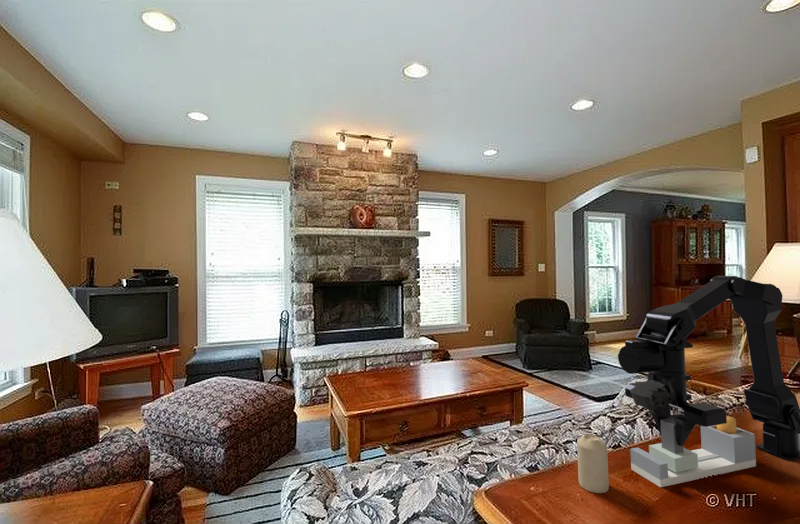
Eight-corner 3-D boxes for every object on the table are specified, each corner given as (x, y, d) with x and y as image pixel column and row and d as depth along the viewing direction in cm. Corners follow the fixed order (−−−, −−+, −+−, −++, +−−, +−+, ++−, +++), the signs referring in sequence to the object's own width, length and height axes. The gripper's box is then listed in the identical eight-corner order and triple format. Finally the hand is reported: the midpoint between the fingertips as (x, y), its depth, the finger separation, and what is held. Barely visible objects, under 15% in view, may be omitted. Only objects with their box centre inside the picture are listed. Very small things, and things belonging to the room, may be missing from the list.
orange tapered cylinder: (724, 438, 86) (723, 414, 86) (741, 444, 83) (740, 420, 83) (713, 440, 85) (712, 416, 85) (729, 447, 82) (728, 422, 82)
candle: (613, 494, 73) (610, 443, 73) (582, 492, 74) (580, 442, 74) (603, 479, 79) (601, 431, 79) (575, 476, 80) (573, 430, 80)
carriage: (671, 453, 84) (669, 414, 84) (698, 467, 78) (696, 425, 78) (649, 458, 82) (647, 418, 82) (675, 472, 77) (673, 429, 77)
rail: (721, 451, 88) (720, 421, 88) (756, 466, 81) (754, 433, 81) (631, 469, 82) (629, 437, 82) (660, 487, 75) (658, 452, 75)
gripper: (604, 362, 88) (607, 428, 87) (681, 386, 69) (685, 470, 69) (642, 357, 90) (645, 422, 90) (727, 379, 72) (730, 460, 72)
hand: (672, 441), depth 80 cm, fingers open, 3 cm apart
